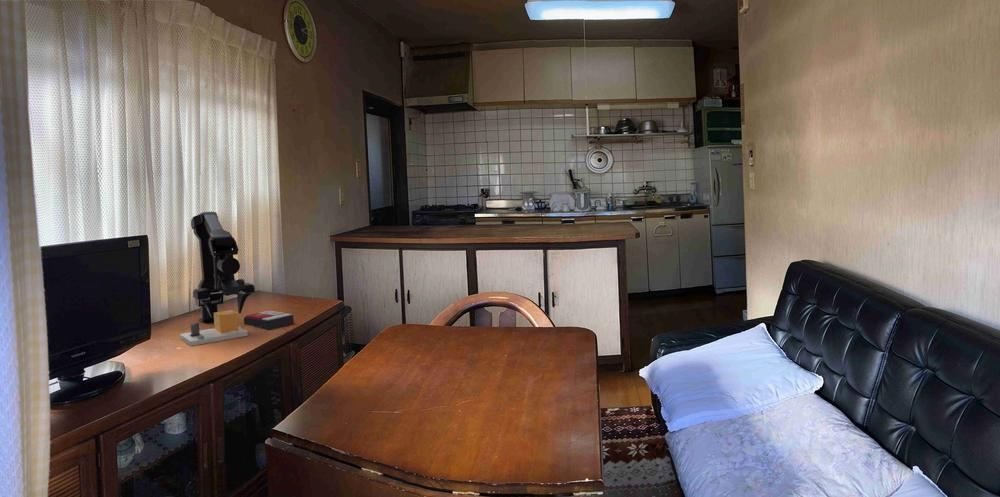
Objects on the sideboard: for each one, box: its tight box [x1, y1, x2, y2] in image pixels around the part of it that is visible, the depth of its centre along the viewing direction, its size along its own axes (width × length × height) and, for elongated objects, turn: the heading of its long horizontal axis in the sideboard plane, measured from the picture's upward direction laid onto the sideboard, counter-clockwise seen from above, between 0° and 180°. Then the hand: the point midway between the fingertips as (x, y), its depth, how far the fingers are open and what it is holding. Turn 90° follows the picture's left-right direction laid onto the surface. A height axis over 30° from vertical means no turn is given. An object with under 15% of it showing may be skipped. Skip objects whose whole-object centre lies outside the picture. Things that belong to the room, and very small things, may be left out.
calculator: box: [243, 310, 295, 331], centre depth 214 cm, size 11×4×15 cm
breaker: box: [190, 322, 201, 336], centre depth 193 cm, size 3×3×4 cm
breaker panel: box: [179, 326, 249, 347], centre depth 196 cm, size 12×18×2 cm, turn 134°
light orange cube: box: [213, 309, 240, 333], centre depth 200 cm, size 6×6×6 cm
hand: (226, 315), depth 199 cm, fingers open, 9 cm apart
